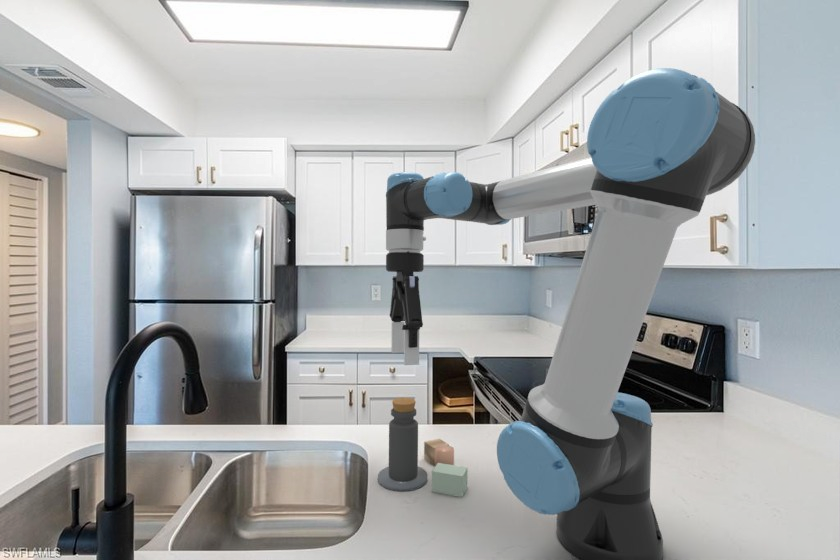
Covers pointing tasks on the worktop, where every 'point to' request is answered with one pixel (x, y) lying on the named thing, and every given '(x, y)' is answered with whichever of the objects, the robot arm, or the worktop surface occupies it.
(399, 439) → the bottle
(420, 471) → the coaster
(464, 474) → the sage block
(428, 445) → the oak block
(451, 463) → the salmon pink block
